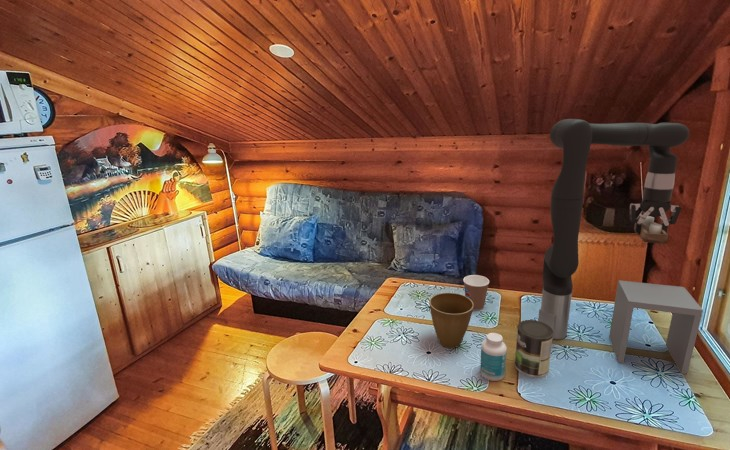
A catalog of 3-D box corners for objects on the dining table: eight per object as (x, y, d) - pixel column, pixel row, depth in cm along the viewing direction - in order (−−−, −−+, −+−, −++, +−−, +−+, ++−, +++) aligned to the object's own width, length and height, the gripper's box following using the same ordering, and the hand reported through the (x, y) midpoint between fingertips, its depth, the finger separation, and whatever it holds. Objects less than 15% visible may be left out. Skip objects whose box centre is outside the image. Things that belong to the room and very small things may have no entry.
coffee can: (521, 378, 118) (524, 338, 114) (509, 357, 128) (512, 320, 124) (555, 377, 118) (559, 337, 114) (541, 356, 128) (545, 319, 124)
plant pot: (433, 356, 131) (433, 314, 126) (426, 331, 145) (426, 293, 140) (477, 354, 131) (479, 312, 126) (465, 329, 145) (467, 291, 140)
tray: (633, 229, 138) (636, 214, 136) (654, 230, 136) (656, 215, 134) (644, 242, 126) (647, 226, 124) (666, 243, 123) (669, 227, 122)
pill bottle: (506, 383, 117) (509, 345, 113) (481, 381, 118) (483, 343, 114) (503, 367, 124) (505, 330, 120) (479, 365, 125) (480, 329, 121)
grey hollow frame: (609, 336, 136) (618, 280, 130) (671, 345, 130) (684, 287, 123) (617, 362, 123) (628, 301, 116) (687, 374, 117) (703, 310, 110)
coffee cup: (460, 300, 166) (461, 274, 162) (485, 300, 165) (486, 274, 161) (464, 312, 156) (465, 286, 153) (490, 312, 155) (491, 285, 152)
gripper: (681, 184, 126) (671, 232, 131) (630, 183, 131) (622, 229, 136) (690, 189, 119) (679, 240, 125) (635, 187, 125) (627, 236, 130)
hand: (649, 234), depth 130 cm, fingers closed on tray, 6 cm apart
